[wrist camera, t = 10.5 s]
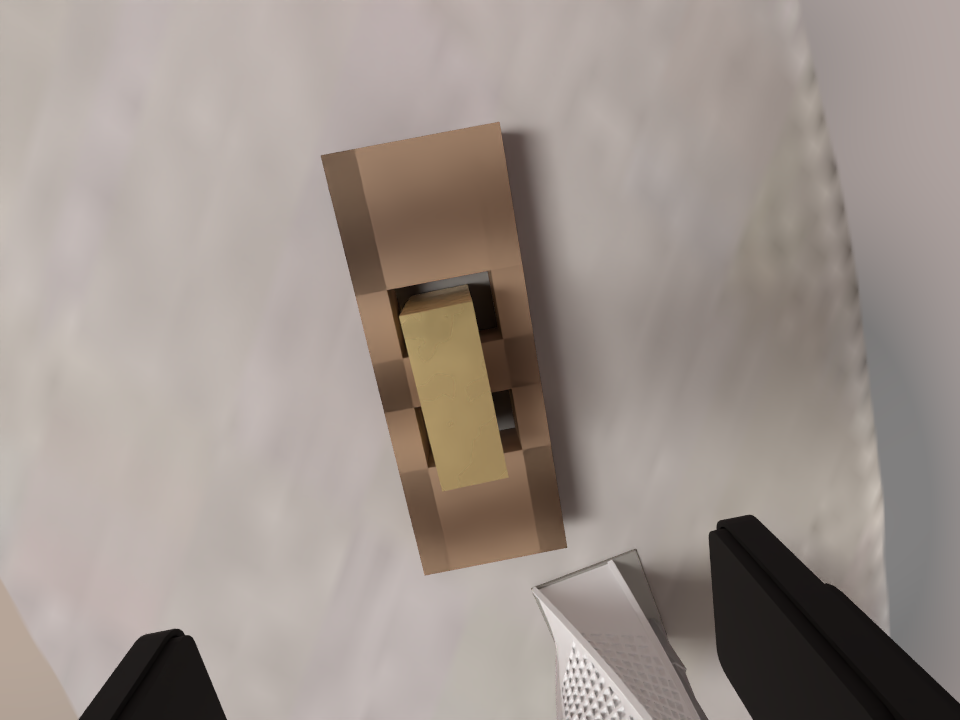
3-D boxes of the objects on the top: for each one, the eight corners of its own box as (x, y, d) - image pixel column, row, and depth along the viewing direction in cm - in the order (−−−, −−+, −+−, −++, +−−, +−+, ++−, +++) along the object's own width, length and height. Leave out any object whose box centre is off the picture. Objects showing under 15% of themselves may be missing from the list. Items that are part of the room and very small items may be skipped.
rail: (334, 162, 26) (320, 155, 23) (493, 132, 26) (499, 121, 23) (426, 543, 32) (424, 575, 29) (556, 517, 32) (567, 547, 29)
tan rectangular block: (410, 294, 27) (398, 316, 21) (466, 282, 27) (472, 301, 21) (443, 432, 29) (441, 491, 23) (495, 421, 29) (508, 477, 23)
